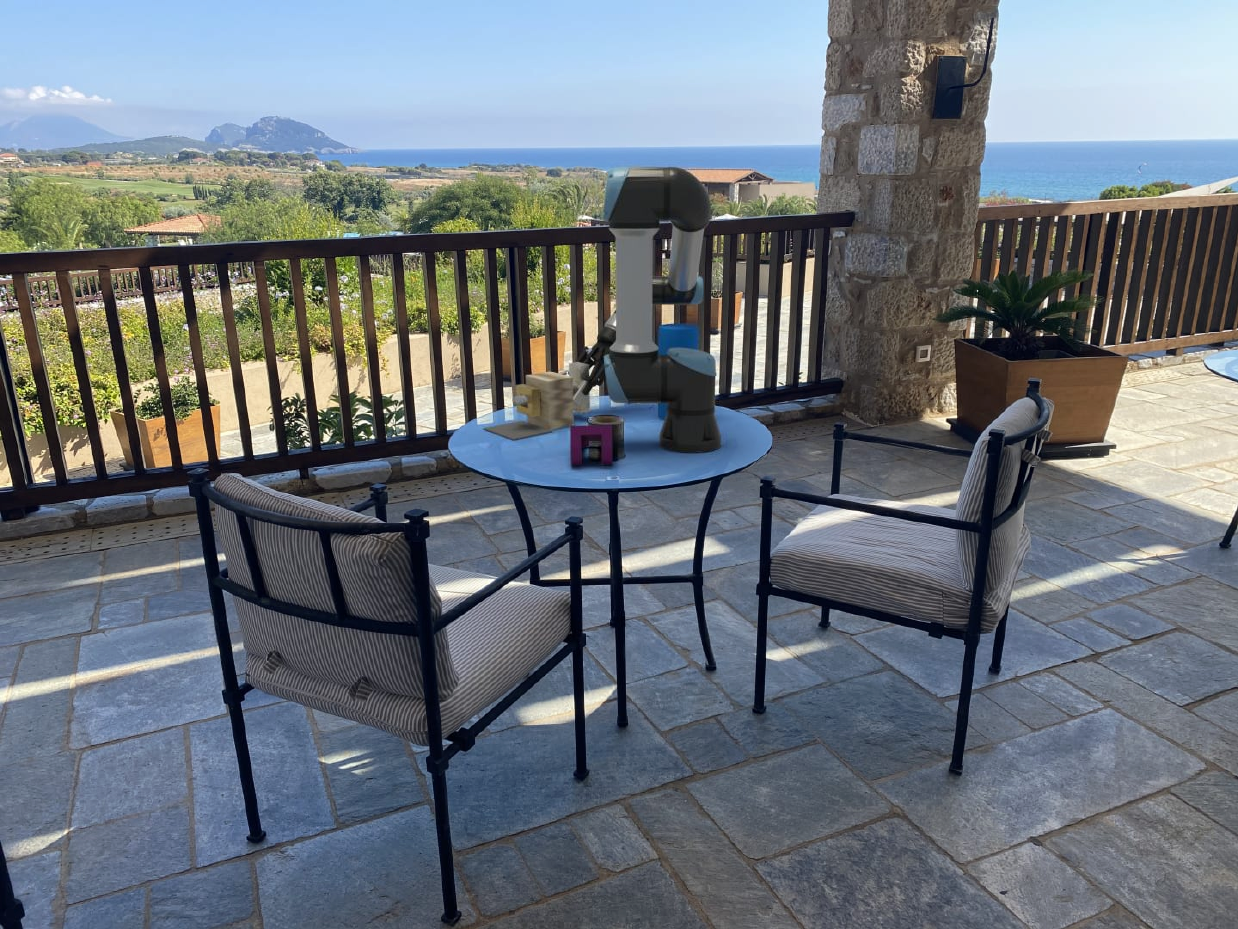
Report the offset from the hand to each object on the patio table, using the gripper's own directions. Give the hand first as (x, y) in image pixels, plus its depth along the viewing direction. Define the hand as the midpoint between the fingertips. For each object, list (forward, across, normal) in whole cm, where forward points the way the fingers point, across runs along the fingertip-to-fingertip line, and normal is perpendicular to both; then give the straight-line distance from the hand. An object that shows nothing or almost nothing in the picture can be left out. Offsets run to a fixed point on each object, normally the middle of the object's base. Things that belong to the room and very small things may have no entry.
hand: (568, 401), depth 237 cm
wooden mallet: (+7, 0, +2) cm, 7 cm away
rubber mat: (+16, 0, +8) cm, 18 cm away
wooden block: (+8, 0, +1) cm, 8 cm away
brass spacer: (+10, 0, +8) cm, 13 cm away
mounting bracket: (+16, -30, +8) cm, 35 cm away
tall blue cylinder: (-13, -17, -21) cm, 30 cm away
